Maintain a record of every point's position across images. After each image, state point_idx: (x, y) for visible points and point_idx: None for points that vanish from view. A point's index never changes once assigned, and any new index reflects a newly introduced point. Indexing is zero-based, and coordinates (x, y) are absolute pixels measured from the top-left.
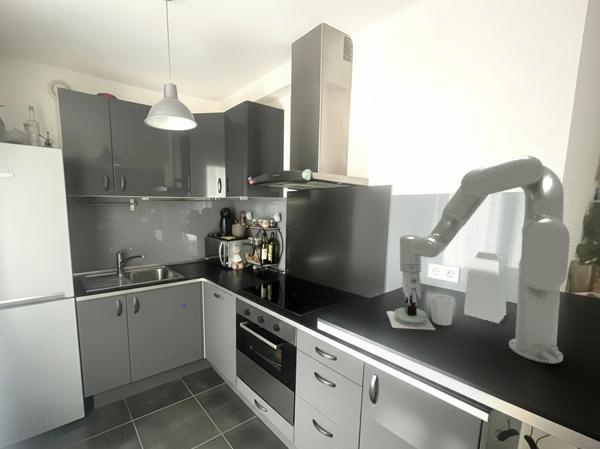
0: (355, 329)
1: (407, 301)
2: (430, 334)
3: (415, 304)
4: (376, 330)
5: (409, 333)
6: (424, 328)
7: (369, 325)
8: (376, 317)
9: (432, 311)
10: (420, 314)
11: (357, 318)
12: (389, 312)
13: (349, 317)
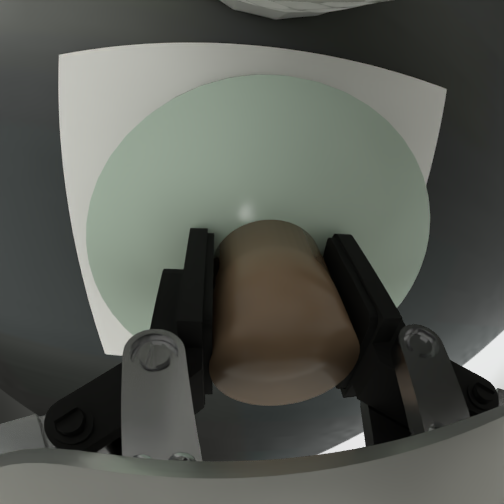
0: (333, 438)
1: (203, 387)
2: (470, 152)
3: (462, 367)
4: None
5: (431, 275)
6: (421, 167)
7: (306, 416)
8: (205, 397)
9: (331, 6)
10: (309, 169)
11: (230, 442)
12: (123, 343)
13: (222, 455)
